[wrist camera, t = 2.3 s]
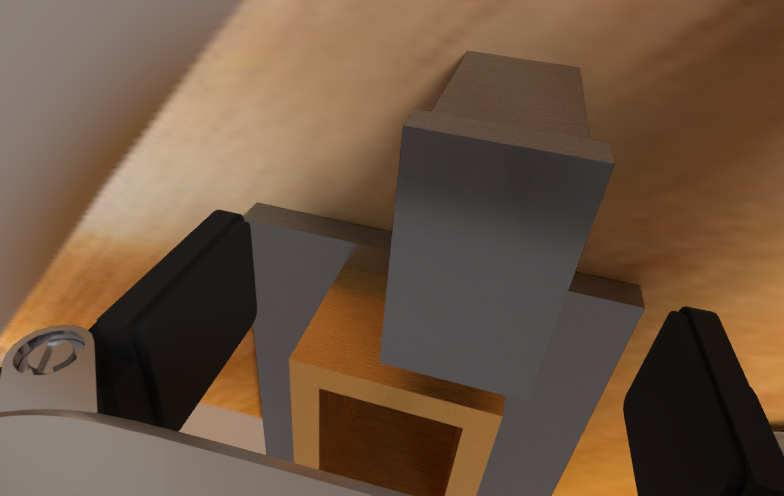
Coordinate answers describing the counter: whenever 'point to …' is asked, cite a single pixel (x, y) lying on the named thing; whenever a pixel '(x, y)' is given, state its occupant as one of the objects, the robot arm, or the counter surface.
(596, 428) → the counter surface
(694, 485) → the robot arm
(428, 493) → the post
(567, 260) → the tall grey pillar block
